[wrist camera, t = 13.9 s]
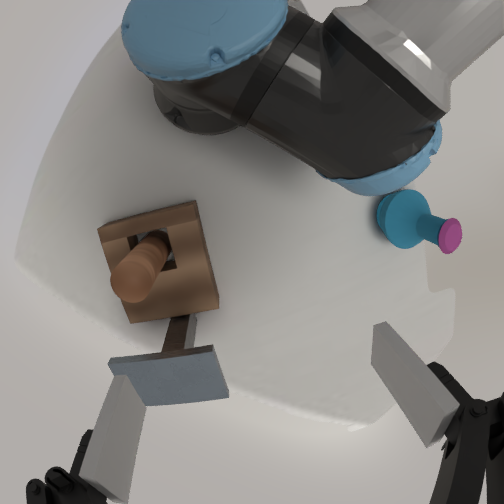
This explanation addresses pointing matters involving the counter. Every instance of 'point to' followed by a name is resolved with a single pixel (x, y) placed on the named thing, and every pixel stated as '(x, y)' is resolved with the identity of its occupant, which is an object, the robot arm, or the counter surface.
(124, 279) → the peg
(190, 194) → the counter surface
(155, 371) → the grey t-shaped block
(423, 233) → the perfume bottle
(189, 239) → the socket board
